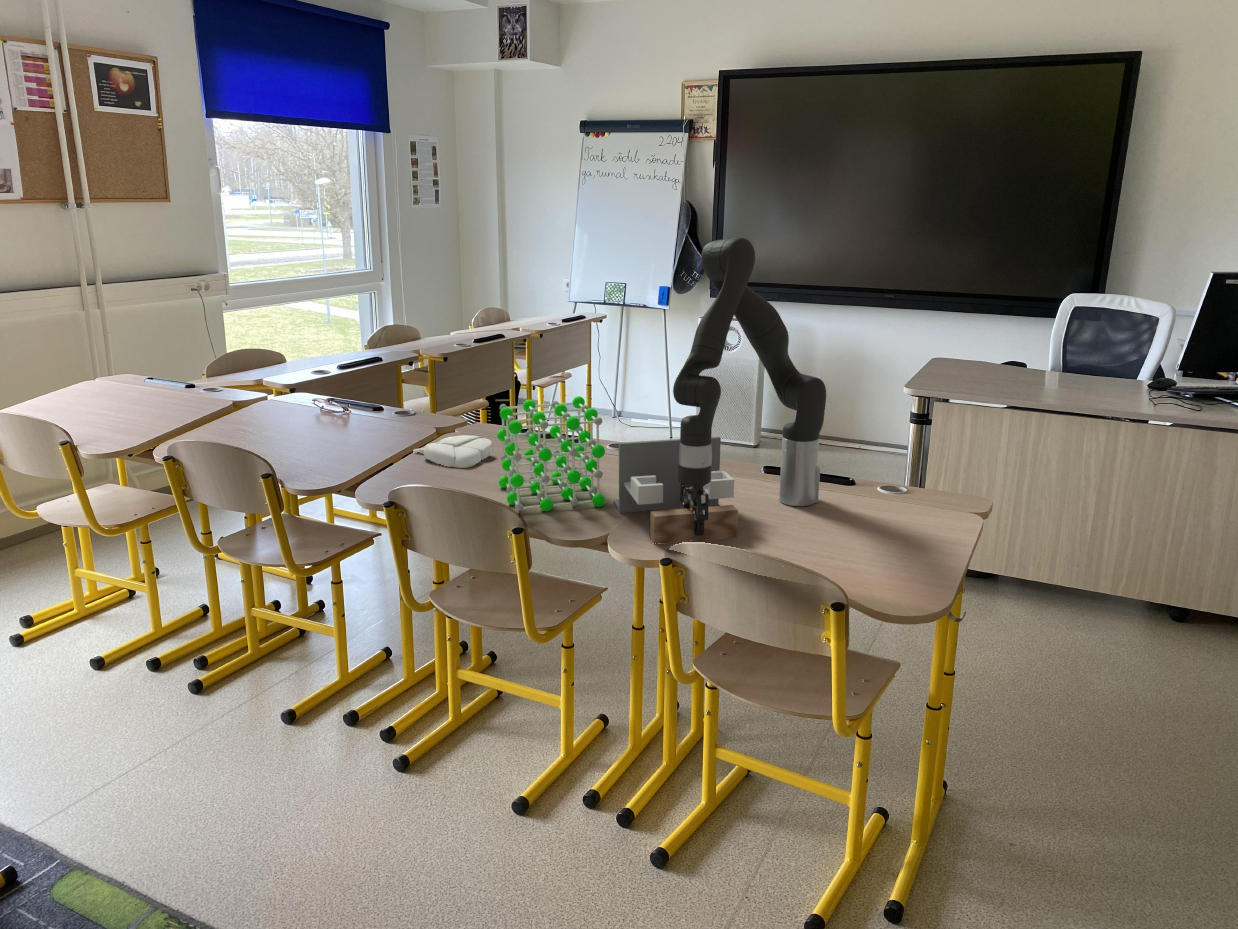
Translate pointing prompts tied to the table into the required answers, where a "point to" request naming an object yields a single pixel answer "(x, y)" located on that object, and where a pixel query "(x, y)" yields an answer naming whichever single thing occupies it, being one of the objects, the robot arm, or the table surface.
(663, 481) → the rack
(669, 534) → the rail
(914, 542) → the table surface
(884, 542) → the table surface
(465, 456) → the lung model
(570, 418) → the molecular structure model
